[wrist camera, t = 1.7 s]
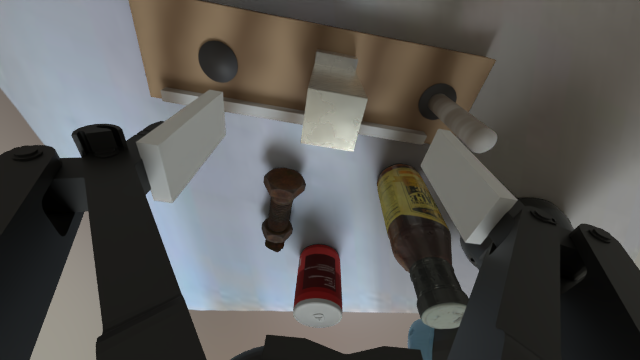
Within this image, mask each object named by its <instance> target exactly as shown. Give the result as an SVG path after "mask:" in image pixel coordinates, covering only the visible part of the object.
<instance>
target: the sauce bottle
mask: <svg viewBox="0 0 640 360" xmlns="http://www.w3.org/2000/svg"><path fill="white" fill-rule="evenodd" d="M377 186H378V194H379V198H380V203H381V207H382V212H383V216H384V221H385V225H386V229H387V234H388V237H389V239H390V243H391V247H392V251H393V254H394V257H395V258H396V260H397V261H398V262H399V264H400V265H401V266H402V267H403V268H404V269H405V270H406V271H408V272H409V273H410V277H411V281H412V282H413V285H414V288H415V292H416V295H417V299H418V300H417V308H418V312H419V314H420V318H421V320H422V322H423V323H424V324H426V325H428V326H430V327H432V328H436V329H451V328H456V327H459V326H460V323H461V320H462V317H463V315H464V312H465V309H466V306H467V304H468V301H469V298H468V296H467V295H466V294H465V293H464V292H463V291H462V289H461V287H460V284H459V282H458V280H457V278H456V276H455V274H454V269H453V267H452V254H451V234H450V231H449V229H448V227H447V225H446V223H445V221H444V219H443V218H442V216H441V213H440V212H439V209H438V207H437V205H436V204H435V202H434V200H433V198H432V196H431V194H430V192H429V191H428V189H427V187H426V185H425V183H424V181H423V179H422V177H421V176H420V174H419V173H418V172H417V171H416V170H415V169H414V168H413V167H411V166H408V165H403V164H395V165H393V166H390V167H388V168H386V169H385V170H384V171H383V172H382V173H381V174H380V176H379V179H378V181H377Z"/></svg>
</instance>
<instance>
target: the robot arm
mask: <svg viewBox="0 0 640 360" xmlns="http://www.w3.org/2000/svg"><path fill="white" fill-rule="evenodd" d="M225 135H226V131H225V116H224V101H223V92H221V91H215V90H208V91H207V92H205V93H204V94H203V95H201V96H200V97H198V98H197V99H196V100H194V101H193V102H191V103H190V104H189V105H187V106H186V107H184V108H183V109H182V110H180V111H179V112H177V113H176V114H175V115H173V116H172V117H170V118H169V119H168V120H166V121H165V122H164V121H160V122H157V123H154V124H151V125H149V126H148V127H146V128H145V129H143V131H140V132H139V133H137V135H134V136H133V137H131V138H130V139H128V140H127V141H126V140H125V137H124V134H123V131H122V129H121V128H120V127H119V126H116V125H112V124H94V125H88V126H84V127H81V128H78V129H77V130H75V131H73V133H72V138H73V140H74V142H75V144H76V146H77V148H78V150H79V152H80V154H81V157H82V158H59V156H58V154H57V152H56V150H55V149H54V148H52V147H50V146H45V145H33V146H22V147H17V148H14V149H12V150H10V151H7V152H5V153H3V154H1V155H0V360H30V357H31V354H32V351H33V349H34V346H35V344H36V341H37V338H38V335H39V333H40V330H41V327H42V325H43V322H44V319H45V317H46V314H47V311H48V308H49V306H50V303H51V300H52V298H53V295H54V292H55V290H56V287H57V284H58V282H59V279H60V276H61V274H62V271H63V268H64V265H65V263H66V260H67V257H68V255H69V252H70V249H71V246H72V244H73V241H74V238H75V236H76V233H77V230H78V228H79V225H80V222H81V220H82V217H83V214H84V212H85V211H88V212H89V219H90V228H91V236H92V244H93V251H94V260H95V268H96V276H97V284H98V292H99V300H100V308H101V316H102V324H103V333H102V335H101V336H99V337H98V338H97V342H96V360H206V357H205V354H204V352H203V349H202V346H201V343H200V341H199V338H198V335H197V333H196V330H195V327H194V324H193V322H192V319H191V316H190V314H189V311H188V308H187V305H186V303H185V300H184V298H183V296H182V294H181V291H180V288H179V286H178V283H177V280H176V277H175V275H174V272H173V269H172V267H171V264H170V261H169V258H168V256H167V253H166V250H165V247H164V245H163V242H162V239H161V236H160V234H159V231H158V228H157V225H156V223H155V220H154V217H153V215H152V212H151V209H150V206H149V204H148V201H147V198H146V194H147V193H148V192H149V191H150V190H151V193H152V196H153V199H154V201H161V202H169V203H173V202H174V201H175V199H176V198H177V197H178V196H179V194H180V193H181V192H182V190H183V189H184V188H185V187H186V185H187V184H188V183H189V182H190V180H191V179H192V178H193V176H194V175H195V174H196V173H197V171H198V170H199V169H200V167H201V166H202V165H203V164H204V162H205V161H206V160H207V158H208V157H209V156H210V155H211V153H212V152H213V151H214V150H215V148H216V147H217V146H218V144H219V143H220V142H221V141H222V139H223V138H224V137H225ZM421 168H422V169H423V171H424V173H425V175H426V176H427V178H428V180H429V181H430V183H431V185H432V187H433V188H434V190H435V192H436V193H437V195H438V197H439V199H440V200H441V202H442V204H443V206H444V207H445V209H446V211H447V212H448V214H449V216H450V218H451V219H452V221H453V223H454V224H455V226H456V228H457V230H458V231H459V233H460V235H461V240H460V243H461V247H462V249H463V251H464V253H465V255H466V256H467V258H468V259H469V261H470V262H471V263H472V264H473V265H474V266H476V267H477V268H478V269H479V273H478V276H477V279H476V281H475V284H474V287H473V290H472V292H471V295H470V298H469V301H468V304H467V306H466V309H465V312H464V315H463V317H462V320H461V323H460V326H459V327H456V328H451V329H436V328H432V327H430V326H428V325H426V324H424V323H423V322H422V320H421V319H418V320H417V321H415V322H414V323H413V324H412V325H411V327H410V330H409V334H408V348H398V347H388V346H383V347H378V348H374V349H370V350H366V351H361V352H356V353H352V354H342V353H340V352H338V351H335V350H333V349H330V348H328V347H325V346H323V345H320V344H318V343H315V342H313V341H311V340H308V339H305V338H296V337H285V336H275V335H266V339H265V345H264V346H261V347H257V348H253V349H251V350H248V351H245V352H243V353H241V354H239V355H237V356H235V357H234V358H232V359H231V360H640V270H639V269H638V267H637V266H636V265H635V263H634V262H633V260H632V259H631V258H630V256H629V255H628V254H627V252H626V251H625V249H624V248H623V247H622V245H621V244H620V243H619V242H618V241H617V240H616V239H615V238H614V237H612V236H611V234H610V233H608V232H606V231H605V230H603V229H601V228H597V227H594V226H592V225H588V224H580V225H579V226H578V227H577V228H576V229H574V228H573V227H572V225H571V222H570V220H569V219H568V217H567V216H566V215H565V214H564V213H563V212H562V211H561V210H559V209H558V208H557V207H556V206H555V205H553V204H552V203H550V202H548V201H546V200H542V199H536V198H522V199H517V198H516V197H515V196H514V194H513V193H512V192H510V191H509V189H508V188H507V187H506V186H504V184H503V183H502V182H501V181H500V180H499V179H498V178H496V177H495V176H494V175H493V174H492V173H491V172H490V171H489V170H488V169H487V168H486V167H485V166H484V165H483V164H482V163H481V162H480V161H479V160H478V159H477V158H476V157H475V156H474V155H473V154H472V153H471V152H470V151H469V150H468V149H467V148H466V147H465V146H464V145H463V144H462V143H461V141H460V140H459V139H458V138H457V137H456V136H455V135H454V134H453V133H452V132H451V131H448V130H443V129H438V130H437V132H436V135H435V137H434V139H433V141H432V143H431V145H430V147H429V149H428V151H427V153H426V155H425V157H424V159H423V162H422V164H421Z"/></svg>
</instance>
